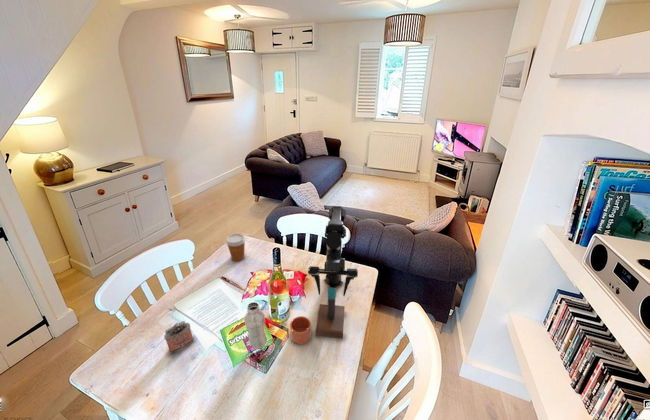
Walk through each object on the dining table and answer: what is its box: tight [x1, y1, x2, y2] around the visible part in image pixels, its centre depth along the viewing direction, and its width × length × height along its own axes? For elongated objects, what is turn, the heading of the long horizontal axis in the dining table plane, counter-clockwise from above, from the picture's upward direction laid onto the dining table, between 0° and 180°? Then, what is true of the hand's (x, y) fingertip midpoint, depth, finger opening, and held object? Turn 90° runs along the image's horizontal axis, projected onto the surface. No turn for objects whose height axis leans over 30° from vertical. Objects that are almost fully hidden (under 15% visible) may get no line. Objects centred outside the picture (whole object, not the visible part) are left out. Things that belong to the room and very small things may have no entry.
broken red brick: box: [163, 320, 195, 355], centre depth 92 cm, size 8×3×10 cm, turn 134°
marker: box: [326, 287, 337, 320], centre depth 99 cm, size 3×3×13 cm
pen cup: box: [289, 315, 312, 345], centre depth 98 cm, size 7×7×6 cm
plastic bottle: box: [243, 301, 268, 349], centre depth 89 cm, size 6×7×20 cm
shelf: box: [315, 303, 346, 340], centre depth 103 cm, size 12×10×4 cm
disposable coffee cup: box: [225, 233, 246, 262], centre depth 139 cm, size 10×10×12 cm
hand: (331, 295), depth 101 cm, fingers open, 9 cm apart
